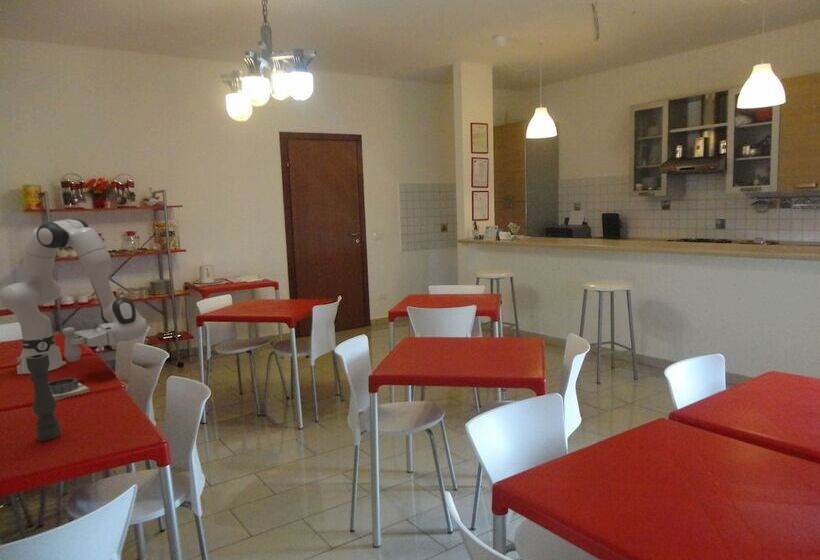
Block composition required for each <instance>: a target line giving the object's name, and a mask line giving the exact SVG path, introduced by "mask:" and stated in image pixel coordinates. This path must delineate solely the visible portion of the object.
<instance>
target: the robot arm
mask: <svg viewBox="0 0 820 560" xmlns="http://www.w3.org/2000/svg"><path fill="white" fill-rule="evenodd" d="M65 247H71V248H72V249H74V251H75V252H76V255H77V257H78V260H79V261H80V263H81V265H82V267H83V269H84V271H85V273H86V274H87V276H88V279H89V281H90V283H91V286H92V288H93V291H94V293H95V295H96V298H97V300H98V303H99V307H100V316H101V317H100V318H101V320H102V321H103V323H101V324H100V323H99V324H98V326H97V328H92V329H82V330H78V331H76V330H75V333H74V336H75V338H76V339H73V340H70V341H69V342H70V344H71V345H74V344H78V345H85V346H88V347H91V348H92V347H94V348H95V347H101V346H103V347H104V346H105V347H106V346H114V345H115V344H118V343H119V342H129V341H134V340H137V339H140V338H142V337H143V336H145V335H146V334H147V330H148V323H147V320H146V318H144V317H143V316H142V315H141V314H140V313H139V311H138V309H137V308H136V305H135V303H134V302H133V301H132V300H131V299H130V298H127V297H125V296H124V297H118V298H116V296H115V294H114V292H113V290H112V287H111V285H110V282H109V276H110V271H111V268H112V263H113V262H112V258H111V255H110V252H109V251H108V248H107V246H106V244H105V243H104V240H103V238H102V237H101V236H100V235H99V233H97V231H96V230H95V229H94V228H93V227H90V226H89V224H87V222H86V221H84V220H83V219H82V220H81V219H78V218H71V219H60V220H56V221H51V222H50V221H49V222H48V221H47V222H45V223H43V224H41V225H40V226H39V227H36V228H34V229H33V230H32V232H31V234H30V236H29V238H28V241H27V243H26V248H25V252H24V255H23V259H22V263H21V264H22V269H23V270H24V272H26V273H27V274H29V279H28V280H26V281H23V282H22V281H21V282H16V283H12V284H9V285H7V286H4V287H3V288H2V289H1V290H0V303H1V305H2V306H3V307H4V308H5V309H8V310H9V311H11V312H12V313H13V314H14V316H15V317H16V318H17V320H18V322H19V325H20V331H21V336H22V340H21V348H22V351H21V353H20V355H19V356H17V357H16V360H17V363H19V364H18V365H17V366H16V372H17V375H24V374H25V375H26V374H27V375H28V374H30V375H32V374H31V372H29V369H27V363H26V358H27V357H29V356H32V355H37V354H48V357H49V363H50V365H49V369H48V371H47V372H49V371H53V370H57V369H59V368H61V367H63V366H65V365H68V364H67V361H64V360H63V358H62V354H61V349H60V346H58V345H56V344H55V343H56V341H55V340H56V339H55V336H54V334H53V330H52V322H51V318H50V317H49V316H48V315H46V314H44V313H42V312H41V311H40V309H39V306H40V305H41V306H42V305H44V304H46V305H47V304H49V303H50V302H53V301H56V300H57V299H58V298H60V296H61V294H62V293H61V291H62V288H61V286H60V284H59V282H58V281H57V280H56V279H55V278H54V272H53V271H54V265H55V262H56V261H55V260H56V256H57V252H58V249H61V248H65Z"/></svg>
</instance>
